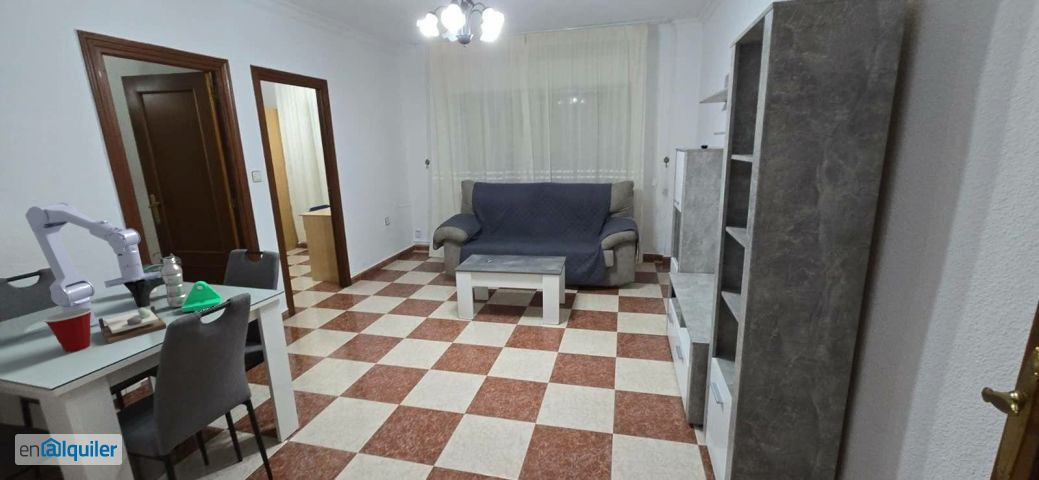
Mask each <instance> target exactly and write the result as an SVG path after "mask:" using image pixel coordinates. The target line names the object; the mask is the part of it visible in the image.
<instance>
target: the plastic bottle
mask: <svg viewBox="0 0 1039 480" xmlns="http://www.w3.org/2000/svg"><path fill="white" fill-rule="evenodd" d="M168 257H169V256H168ZM175 257H176V256H175ZM175 257H169V258H165V257H164V259H163V264H164V267H163V268H162V270H161V275H162V278H163V280H164V283H165V284H164V285H165V288H166V289H165V290H166V296H167V297H166V301H167V302H166V303H167V305H168V306H169V307H170V308H179V307H182V306H183V304H184V302H185V301H186V299H187V297H188V294H187V292H186V289H185V286H184V279H183V269H182V266H181V267H180V266H178V265H177V264H176V263H175V262H176V260H175Z"/></svg>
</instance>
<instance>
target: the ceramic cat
mask: <svg viewBox="0 0 1039 480" xmlns="http://www.w3.org/2000/svg"><path fill="white" fill-rule="evenodd" d="M157 254H160V255H161V256H162V257H158V259H159V260H160V261H159V262H157V263H152V262H151V263H144V264H142V266H144V265H147V264H149V265H148V266H146V267H144V268H143V273H151V272H157V271H159V272H160V273H161V270H162V268H163V267H164V264H163V259H164V258H169V257H175V260H176V262H175V263H176V264H177V265H178V266H180V267H181V268H182V266H183V262H182V259H181V258H180V257H178V256H175V255H174V254H173V253H170V254H169V256H165V257H164V255H163V253H162V252H158V251H157V252H154V253H153V255H152V257H154V258H155V255H157ZM145 281H146V285H145V287H144V290H143V293H142V302H136V301H135V298H134V296H133V295H132V294H131V296H132V299H133V300H134V301H135V302H134V303H135V304H136V306H137V308H138V309H139V308H142V307H143V308H146V307H149V306H151V302H150V299H151V298H150V297H151V294H150V293H151V291H152V290H153V289H154V288H156V287H157V288H158V287H160V286H163V285H165V283H164V280H163V278H162V275H161V277H160V278H152V279H147V280H145Z"/></svg>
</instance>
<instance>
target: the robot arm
mask: <svg viewBox="0 0 1039 480" xmlns="http://www.w3.org/2000/svg"><path fill="white" fill-rule="evenodd" d="M24 216H25V218H26V221H27V222H28V224H29V227H30V228H31V231H32V232H33V233H34V236H35V238H36V240H37V242H38V245H39V246H40V248H41V251H42V253H43V255H44V257H45V260H46V262H47V264H48V265H49V268H50V269H51V272H52V274H53V276H54V278H55V279H54V281H53V282H52V283H51V285H50V286H49V287H48V288H49V290H50V296H51V300H52V302H53V303H54V304H56V305H57V306H58V307H61V308H62V313H63V312H67V311H72V310H77V309H85V308H92V311H91V316H90V328H91V327H94V326H95V327H96V326H98V325H99V326H100V324H99V321H98V318H96V316H95V313H94V307H93V305H92V304H93V303H92V302H91V300H93V296H94V295H95V292H96V289H95V286H94V285H93V284H92V282H90V280H89V279H88V277H87V276H85V275H81V274H78V272H77V270H76V268H75V266H74V264H73V262H72V259H71V257H70V255H69V252H68V251H67V249H66V246H65V244H64V242H63V239H62V238H61V236H60V233H59V231H60V230H61V228H62V227H64V226H65V225H67V224H68V223H70V224H72V225H75V226H79V227H81V228H83V229H86V230H88V232H89V233H90V235H92V236H94V237H97V238H99V239H101V240H104V241H105V242H107V244H108V245H109V246H110V248H111V249H112V250H113V253H114V254H116V258H117V263H118V267H119V271H120V274H121V275H120V276H121V277H118V278H114V279H110V280H109V279H108V280H105V281H104V282H103V283H104V287H105V288H106V289H108V288H111V287H115V286H121V285H124V286H125V288H127V290H128V291H129V292H130V293H131V296H132V295H133V296H134V298H135V300H134V301H136V302H142V293H143V290H144V287H145V285H146V281H145V280H147V279H152V278H160V277H161V273H160V272H159V271H157V272H151V273H143V268H142V265H143V264H142V260H141V257H140V256H141V255H140V251H139V246H138V244H140V242H141V240H142V239H141V238H142V237H141V235H140V233H139V232H138V231H137V230H135V229H134V228H123V227H121V226H118V225H115V224H114V223H111V222H110V221H109V220H107V219H99V220H96V219H93V218H92V217H90V216H88V215H86V214H84V213H82V212H80V211H79V210H77V209H76V207H75V206H74V205H70V204H69V203H67V202H60V203H54V204H47V205H46V204H45V205H38V206H36V205H35V206H31V207H29V208H28V210H27V212H26V213H25V214H24ZM133 296H132V297H133ZM134 298H133V299H134ZM136 302H135V303H136Z"/></svg>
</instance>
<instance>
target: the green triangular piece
mask: <svg viewBox="0 0 1039 480" xmlns="http://www.w3.org/2000/svg"><path fill="white" fill-rule="evenodd" d="M199 287H202V288H199ZM187 296H188V297H187V299H186V301H185V302H184V304H183V306H181V312H183V313H184V312H190V311H193V312H194V311H200V312H202V311H201V310H203V309H207V308H209V309H210V308H213V307H212V306H216V305H218V304H220V305H221V303H222V301H223V300H222V296H221V295H220V294H219V293H218V292H217V291H216V290H214V288H213V287H211V286H210V285H209V284H208V283H207V282H205V281H202V280H200V281H196V282H195V283H194V284H193V286H192V287H191V290H190V291H189V293H188V294H187ZM216 307H217V306H216Z"/></svg>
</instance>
